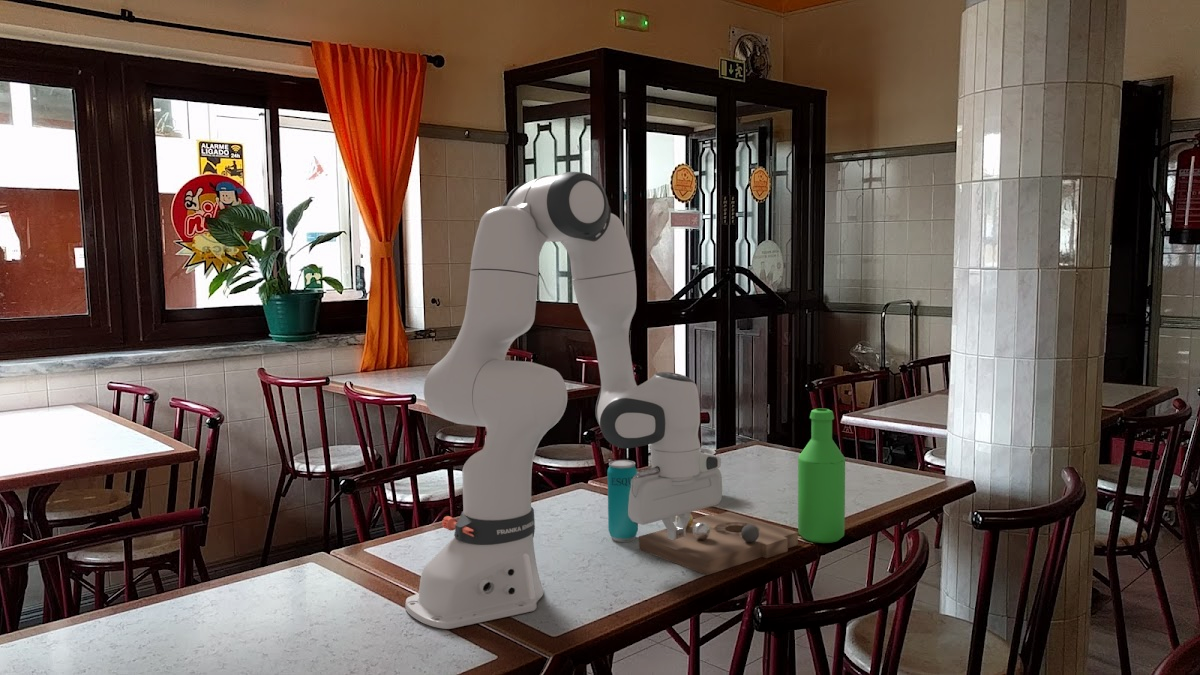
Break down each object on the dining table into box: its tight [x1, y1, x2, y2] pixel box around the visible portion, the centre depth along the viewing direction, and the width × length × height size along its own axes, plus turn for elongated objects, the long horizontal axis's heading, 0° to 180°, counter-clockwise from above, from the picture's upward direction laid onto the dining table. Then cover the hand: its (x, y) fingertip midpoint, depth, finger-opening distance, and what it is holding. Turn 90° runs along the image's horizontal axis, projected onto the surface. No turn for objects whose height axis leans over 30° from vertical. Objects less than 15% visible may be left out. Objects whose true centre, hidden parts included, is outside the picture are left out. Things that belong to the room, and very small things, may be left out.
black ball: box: [741, 525, 759, 543], centre depth 167 cm, size 3×3×3 cm
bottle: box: [797, 408, 846, 544], centre depth 176 cm, size 9×9×25 cm
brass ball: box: [676, 513, 694, 528], centre depth 177 cm, size 3×3×3 cm
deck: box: [638, 511, 799, 576], centre depth 173 cm, size 24×20×2 cm
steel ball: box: [693, 522, 710, 540], centre depth 170 cm, size 3×3×3 cm
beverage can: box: [606, 459, 639, 543], centre depth 178 cm, size 6×6×15 cm
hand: (676, 537), depth 166 cm, fingers closed
